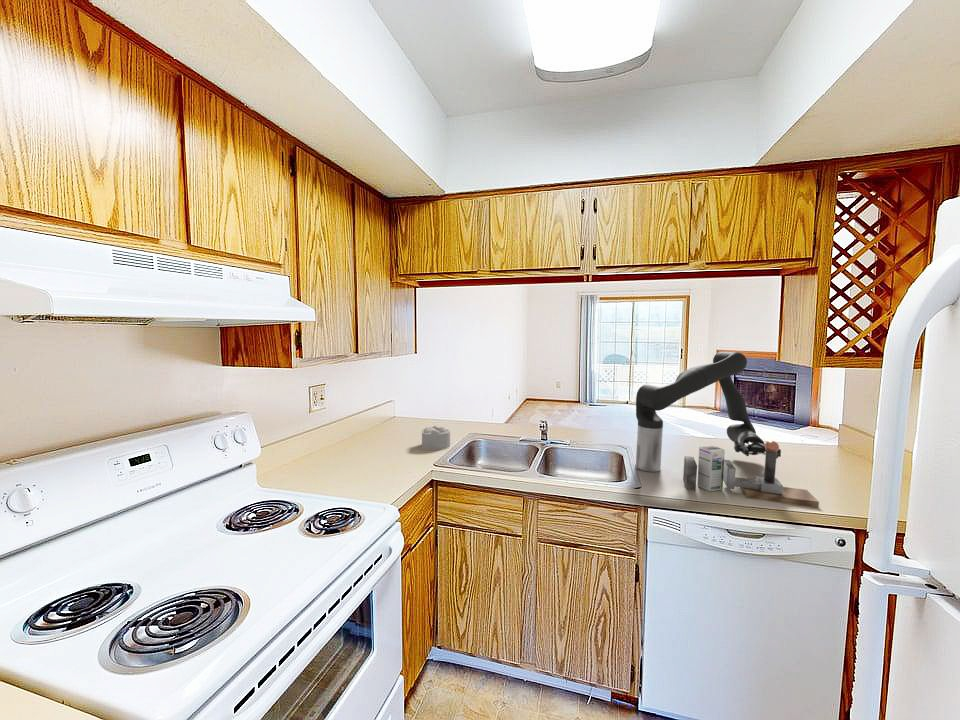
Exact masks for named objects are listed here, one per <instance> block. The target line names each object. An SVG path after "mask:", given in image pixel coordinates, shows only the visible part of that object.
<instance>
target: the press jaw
mask: <svg viewBox="0 0 960 720" xmlns="http://www.w3.org/2000/svg"><path fill="white" fill-rule="evenodd" d="M764 444H765V449H766V452H765V453H766V455H765V460H764V471H763V472H764V474H763V475H762V476H760V475H755V479H751V478H745V477H736V475H737V474H736V471H737V469H736V467H735V466H734V465H733V463H732V461H731V460H729V459H724V474H723V484H724V485H725V486H726V489H727V490H735V488H739V487H741V488H749V489H757V490H760V491H761V492H768V493H775V494H782V491H783V487H784V485H783V484H782V483H781V482H780V481H779V479H778V478H777V477H776V468H777V459H776V457H777V451H778V450H779V449H780V445H779V444H778V442H777V441H775V440H768V441H766V442H764Z"/></svg>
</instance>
